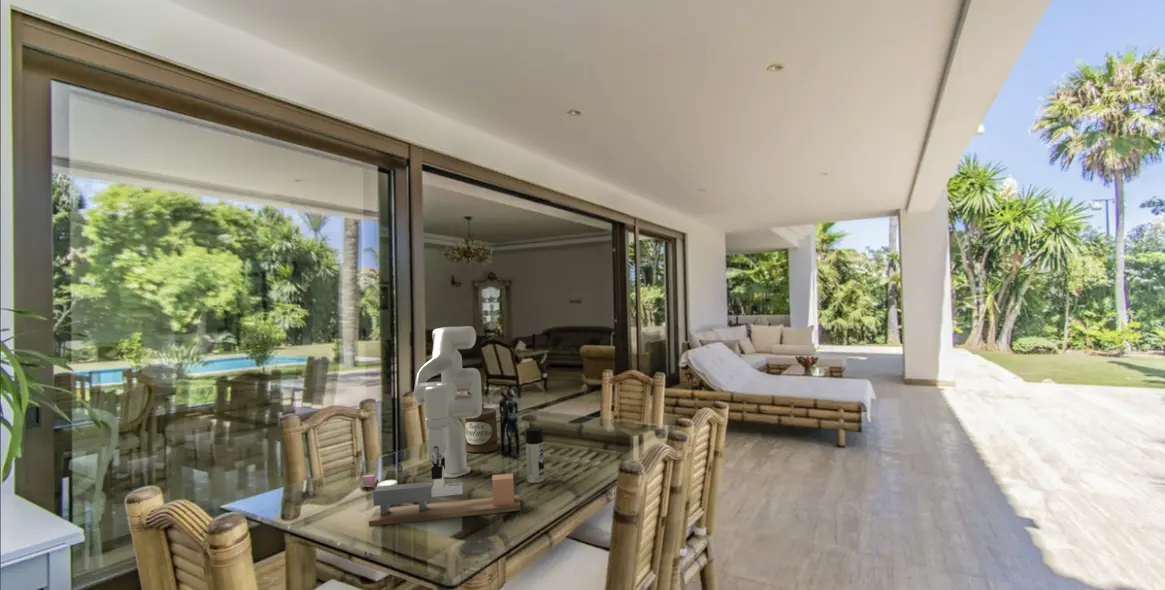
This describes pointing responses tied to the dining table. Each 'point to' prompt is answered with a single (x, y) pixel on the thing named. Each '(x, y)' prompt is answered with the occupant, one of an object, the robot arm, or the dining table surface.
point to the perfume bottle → (370, 480)
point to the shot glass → (387, 483)
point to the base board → (442, 511)
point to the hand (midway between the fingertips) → (438, 474)
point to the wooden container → (482, 431)
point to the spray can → (534, 455)
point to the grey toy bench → (402, 495)
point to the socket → (503, 489)
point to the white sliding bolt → (445, 487)
